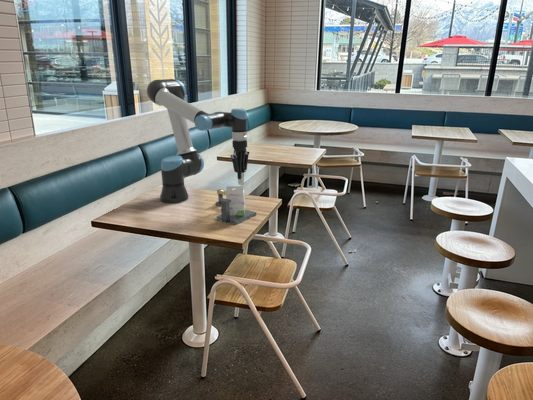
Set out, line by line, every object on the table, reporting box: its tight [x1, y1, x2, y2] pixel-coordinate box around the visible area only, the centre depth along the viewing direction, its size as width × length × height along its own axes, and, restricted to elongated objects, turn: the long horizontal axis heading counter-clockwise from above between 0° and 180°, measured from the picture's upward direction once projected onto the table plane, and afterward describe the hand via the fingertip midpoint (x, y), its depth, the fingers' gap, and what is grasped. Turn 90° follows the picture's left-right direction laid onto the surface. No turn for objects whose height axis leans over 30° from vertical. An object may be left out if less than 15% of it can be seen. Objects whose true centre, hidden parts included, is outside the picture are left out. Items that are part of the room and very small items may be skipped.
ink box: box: [225, 185, 246, 216], centre depth 195 cm, size 9×5×15 cm, turn 84°
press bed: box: [216, 197, 257, 225], centre depth 195 cm, size 12×18×11 cm
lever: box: [216, 188, 226, 196], centre depth 209 cm, size 17×4×3 cm, turn 55°
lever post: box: [214, 194, 224, 207], centre depth 214 cm, size 6×6×6 cm
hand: (241, 184), depth 213 cm, fingers closed
